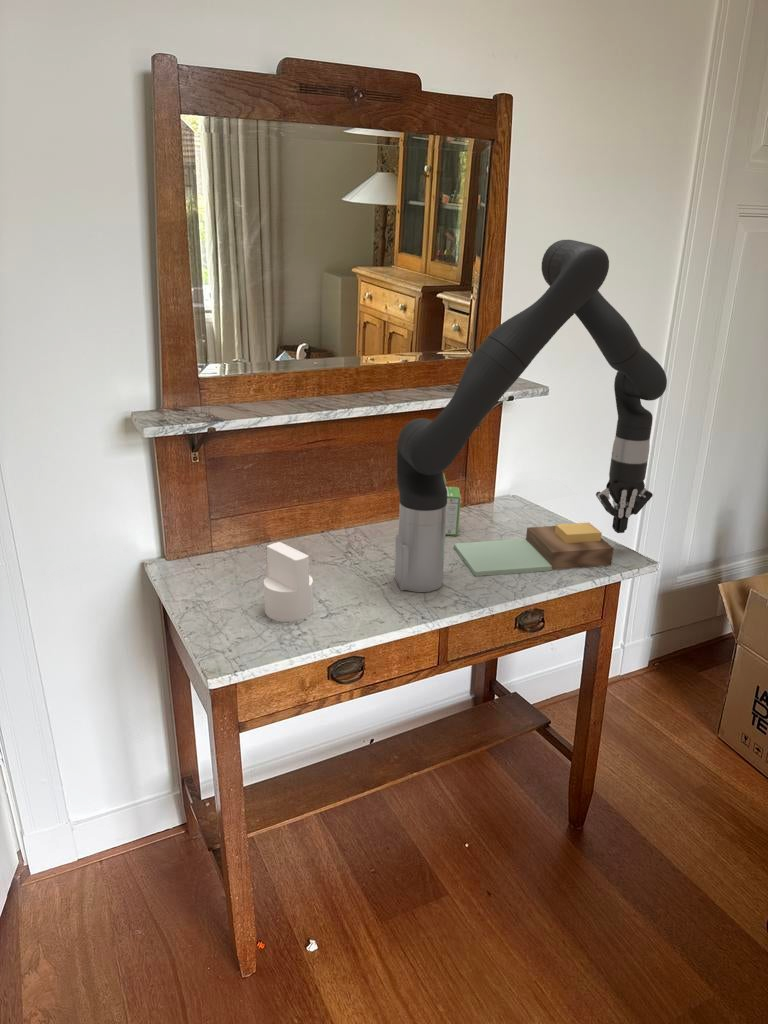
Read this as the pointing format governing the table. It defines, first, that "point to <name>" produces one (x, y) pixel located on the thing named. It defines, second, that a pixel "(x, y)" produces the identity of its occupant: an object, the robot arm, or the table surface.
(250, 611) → the table surface
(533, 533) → the brown wooden block
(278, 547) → the base with upright slab
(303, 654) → the table surface
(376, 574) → the table surface
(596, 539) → the tile
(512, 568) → the mat
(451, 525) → the ink box
